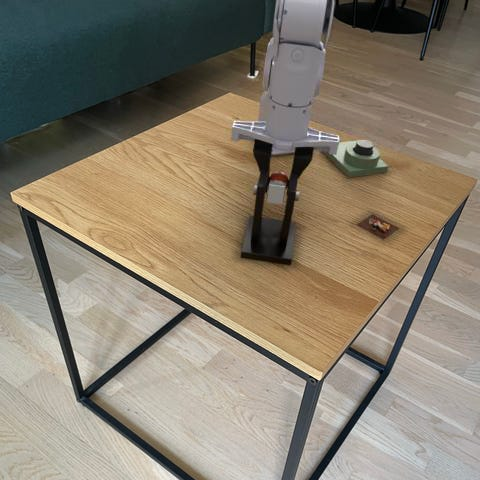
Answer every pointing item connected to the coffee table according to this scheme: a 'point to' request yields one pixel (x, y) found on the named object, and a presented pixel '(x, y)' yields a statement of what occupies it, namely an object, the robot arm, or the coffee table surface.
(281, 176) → the lever
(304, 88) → the robot arm
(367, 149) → the button
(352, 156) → the control block
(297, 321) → the coffee table surface
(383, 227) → the diorama
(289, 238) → the bracket
